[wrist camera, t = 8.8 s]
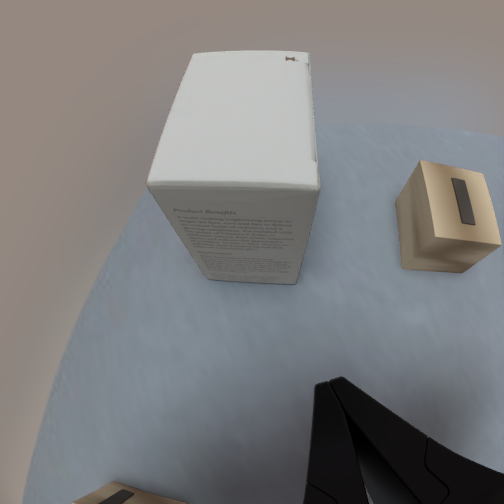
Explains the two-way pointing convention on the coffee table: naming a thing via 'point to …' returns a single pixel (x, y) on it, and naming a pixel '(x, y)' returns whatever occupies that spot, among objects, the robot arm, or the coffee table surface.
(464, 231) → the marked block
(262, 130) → the small box
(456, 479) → the robot arm
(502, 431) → the coffee table surface
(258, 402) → the coffee table surface
